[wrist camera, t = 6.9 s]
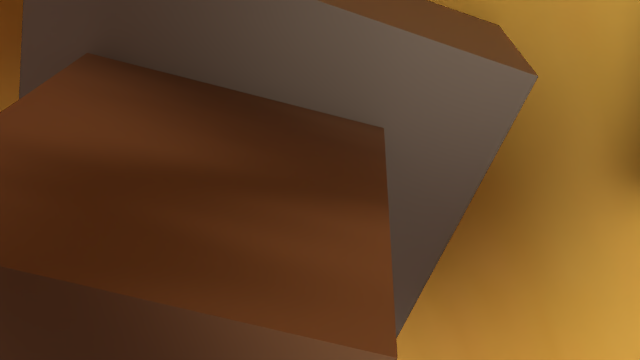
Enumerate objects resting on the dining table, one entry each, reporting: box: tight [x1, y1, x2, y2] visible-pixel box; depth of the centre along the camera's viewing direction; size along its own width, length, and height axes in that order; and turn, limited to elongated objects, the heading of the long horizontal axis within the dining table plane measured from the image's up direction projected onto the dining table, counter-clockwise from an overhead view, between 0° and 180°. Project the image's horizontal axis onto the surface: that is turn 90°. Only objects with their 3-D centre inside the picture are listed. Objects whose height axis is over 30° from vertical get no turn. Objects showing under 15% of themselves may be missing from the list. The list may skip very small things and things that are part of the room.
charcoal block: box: [19, 0, 538, 338], centre depth 12 cm, size 8×8×4 cm
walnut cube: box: [0, 53, 397, 360], centre depth 8 cm, size 5×5×5 cm
